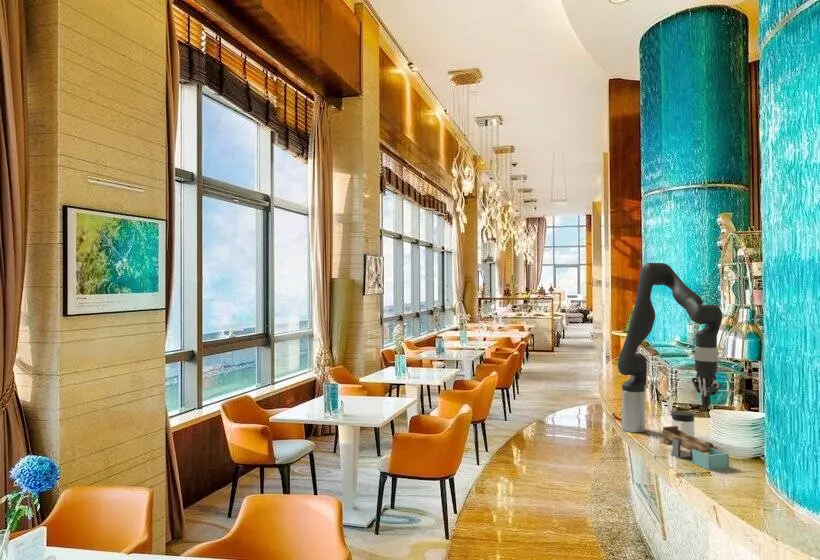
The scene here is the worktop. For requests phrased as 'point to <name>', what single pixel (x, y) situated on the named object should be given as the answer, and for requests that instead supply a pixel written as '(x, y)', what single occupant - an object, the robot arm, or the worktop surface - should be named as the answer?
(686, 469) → the worktop surface
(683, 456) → the fulcrum
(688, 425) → the jar
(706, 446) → the lever
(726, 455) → the box
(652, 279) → the robot arm
